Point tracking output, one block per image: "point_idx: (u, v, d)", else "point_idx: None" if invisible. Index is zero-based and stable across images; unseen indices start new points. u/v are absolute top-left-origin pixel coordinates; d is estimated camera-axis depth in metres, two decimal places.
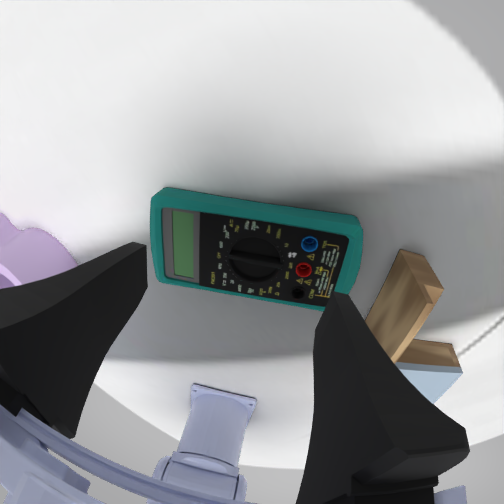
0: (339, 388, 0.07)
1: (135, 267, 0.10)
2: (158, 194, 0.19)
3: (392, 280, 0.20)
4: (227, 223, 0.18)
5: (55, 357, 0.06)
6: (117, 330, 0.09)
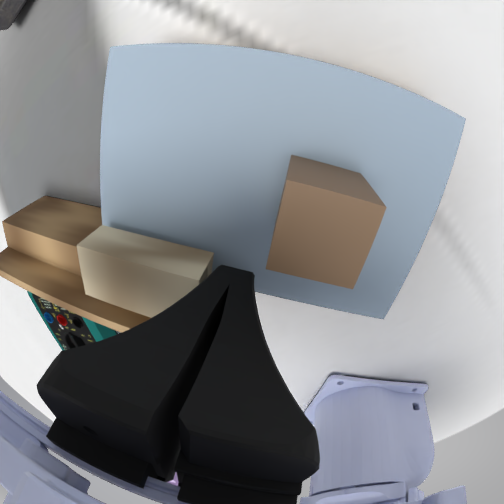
0: None
1: None
2: None
3: None
4: None
5: (180, 411, 0.06)
6: None
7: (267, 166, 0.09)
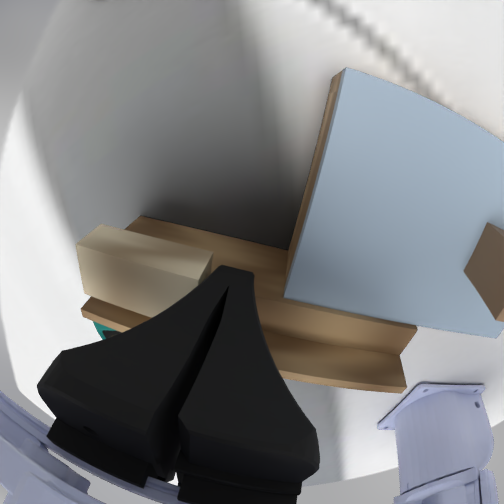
0: None
1: None
2: None
3: None
4: None
5: (180, 411, 0.06)
6: None
7: (471, 229, 0.09)
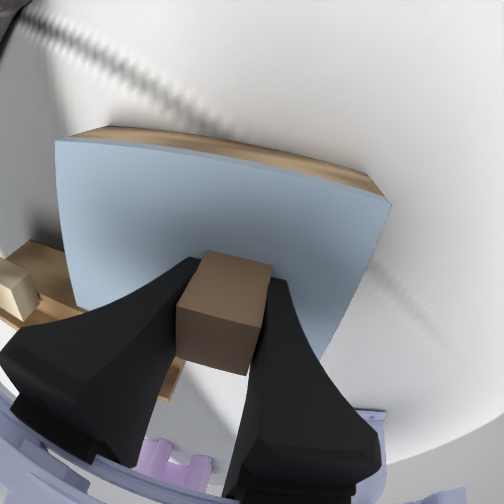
0: (256, 373, 0.07)
1: None
2: None
3: None
4: None
5: (131, 393, 0.06)
6: None
7: None
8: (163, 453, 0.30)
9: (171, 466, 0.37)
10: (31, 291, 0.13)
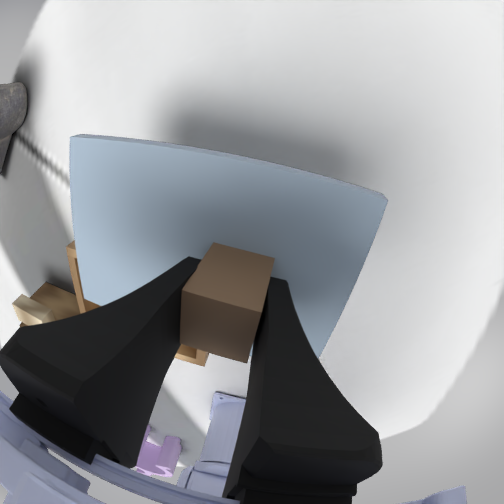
0: (257, 374, 0.07)
1: None
2: None
3: None
4: None
5: (130, 393, 0.06)
6: (175, 350, 0.09)
7: (195, 250, 0.11)
8: None
9: (150, 446, 0.48)
10: (52, 320, 0.23)
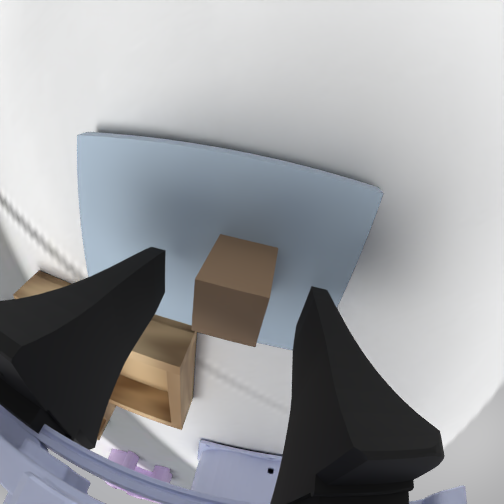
0: (311, 384, 0.07)
1: (155, 273, 0.10)
2: None
3: None
4: None
5: (78, 369, 0.06)
6: (136, 337, 0.09)
7: (203, 242, 0.12)
8: (130, 462, 0.35)
9: (140, 471, 0.42)
10: None
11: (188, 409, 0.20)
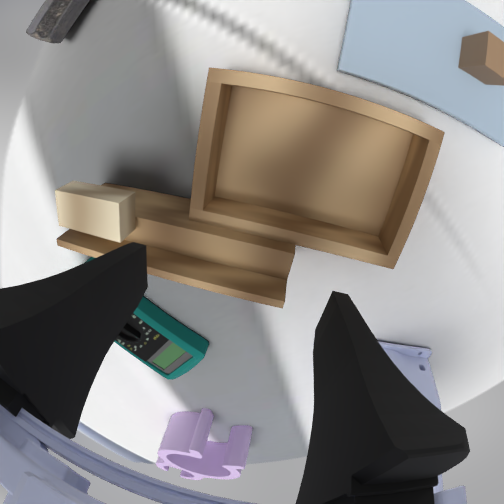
0: (339, 388, 0.07)
1: (135, 267, 0.10)
2: None
3: None
4: (133, 350, 0.27)
5: (55, 357, 0.06)
6: (117, 330, 0.09)
7: (452, 39, 0.10)
8: (207, 423, 0.33)
9: None
10: (132, 212, 0.16)
11: None
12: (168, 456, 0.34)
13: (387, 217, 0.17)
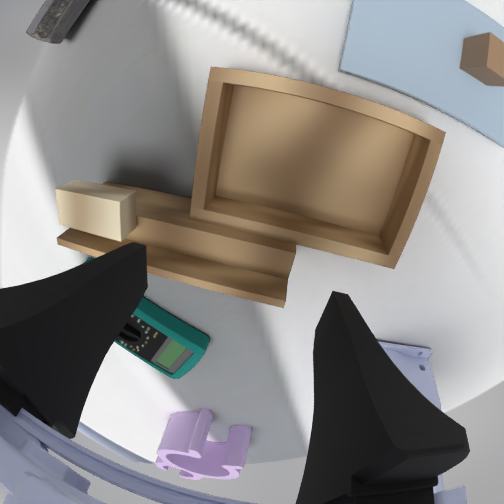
0: (339, 388, 0.07)
1: (135, 267, 0.10)
2: None
3: None
4: (135, 350, 0.27)
5: (55, 357, 0.06)
6: (117, 330, 0.09)
7: (454, 40, 0.10)
8: (206, 423, 0.33)
9: None
10: (133, 211, 0.16)
11: None
12: (167, 456, 0.34)
13: (388, 217, 0.17)
